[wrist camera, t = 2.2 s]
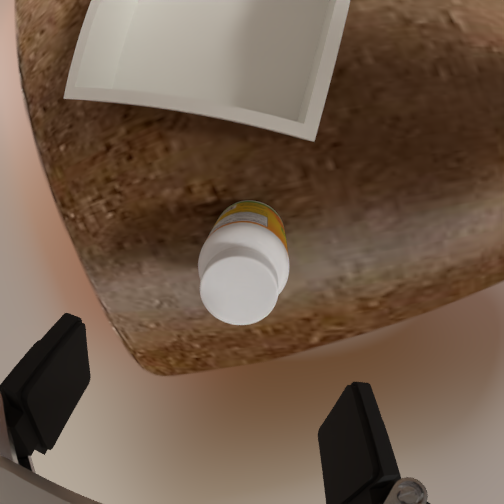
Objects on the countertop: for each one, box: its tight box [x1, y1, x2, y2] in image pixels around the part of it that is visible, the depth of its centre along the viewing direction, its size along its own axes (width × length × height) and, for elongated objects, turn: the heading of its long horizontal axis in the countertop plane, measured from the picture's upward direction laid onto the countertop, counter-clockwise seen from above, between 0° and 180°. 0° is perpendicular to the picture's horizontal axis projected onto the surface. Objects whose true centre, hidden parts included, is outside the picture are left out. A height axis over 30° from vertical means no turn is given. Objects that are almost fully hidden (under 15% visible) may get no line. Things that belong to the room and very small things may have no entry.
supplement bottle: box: [198, 200, 289, 325], centre depth 20 cm, size 5×5×10 cm
